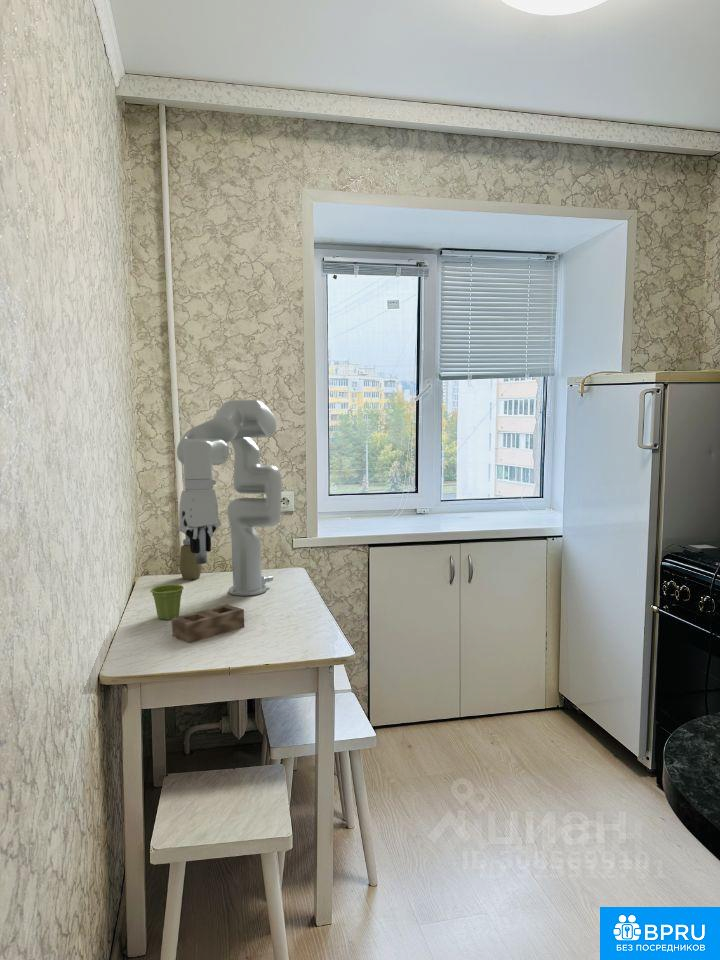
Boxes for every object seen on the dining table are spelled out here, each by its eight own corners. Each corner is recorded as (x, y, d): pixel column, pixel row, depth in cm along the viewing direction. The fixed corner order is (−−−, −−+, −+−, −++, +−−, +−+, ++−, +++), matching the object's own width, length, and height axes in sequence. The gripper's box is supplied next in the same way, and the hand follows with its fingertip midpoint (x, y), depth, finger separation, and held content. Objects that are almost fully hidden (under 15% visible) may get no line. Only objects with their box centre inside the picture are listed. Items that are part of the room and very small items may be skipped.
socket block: (227, 621, 199) (227, 604, 198) (244, 626, 193) (243, 609, 193) (172, 636, 186) (171, 618, 185) (189, 643, 180) (188, 624, 180)
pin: (202, 561, 191) (201, 525, 190) (209, 562, 189) (208, 526, 188) (193, 562, 189) (192, 526, 188) (199, 564, 187) (198, 527, 186)
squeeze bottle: (181, 576, 254) (179, 528, 253) (203, 575, 255) (201, 527, 254) (178, 581, 246) (175, 531, 245) (201, 580, 247) (199, 531, 246)
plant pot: (151, 614, 207) (150, 586, 206) (183, 610, 210) (182, 583, 209) (152, 623, 198) (150, 593, 197) (185, 619, 201) (184, 590, 200)
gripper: (215, 482, 196) (217, 546, 197) (164, 486, 184) (167, 554, 185) (231, 483, 191) (233, 549, 192) (180, 488, 179) (182, 558, 180)
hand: (200, 551), depth 189 cm, fingers closed on pin, 3 cm apart
